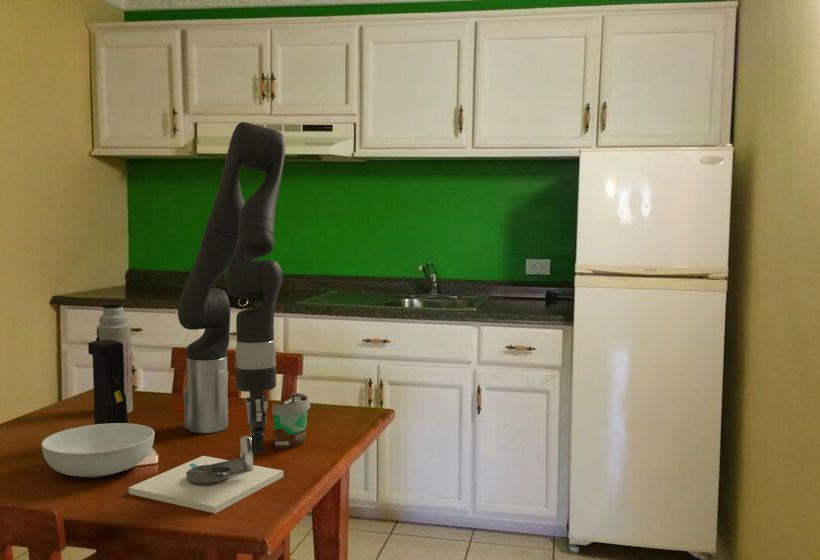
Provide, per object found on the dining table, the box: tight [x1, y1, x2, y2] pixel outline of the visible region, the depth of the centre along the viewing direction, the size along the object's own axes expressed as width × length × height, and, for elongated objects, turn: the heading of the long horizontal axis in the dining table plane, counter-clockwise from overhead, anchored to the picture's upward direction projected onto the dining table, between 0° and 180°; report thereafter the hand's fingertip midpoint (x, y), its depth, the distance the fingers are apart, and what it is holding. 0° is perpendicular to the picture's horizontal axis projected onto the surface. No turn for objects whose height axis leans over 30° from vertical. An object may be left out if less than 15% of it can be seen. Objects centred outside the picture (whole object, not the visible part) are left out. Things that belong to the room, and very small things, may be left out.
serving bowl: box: [40, 422, 155, 478], centre depth 150 cm, size 21×21×7 cm
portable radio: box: [87, 329, 129, 425], centre depth 166 cm, size 8×6×25 cm
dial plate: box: [128, 455, 284, 514], centre depth 142 cm, size 20×20×1 cm
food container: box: [271, 392, 311, 450], centre depth 167 cm, size 12×6×10 cm, turn 168°
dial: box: [186, 435, 254, 484], centre depth 143 cm, size 13×8×6 cm, turn 130°
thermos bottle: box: [96, 302, 134, 414], centre depth 192 cm, size 8×8×28 cm
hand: (257, 453), depth 144 cm, fingers closed
